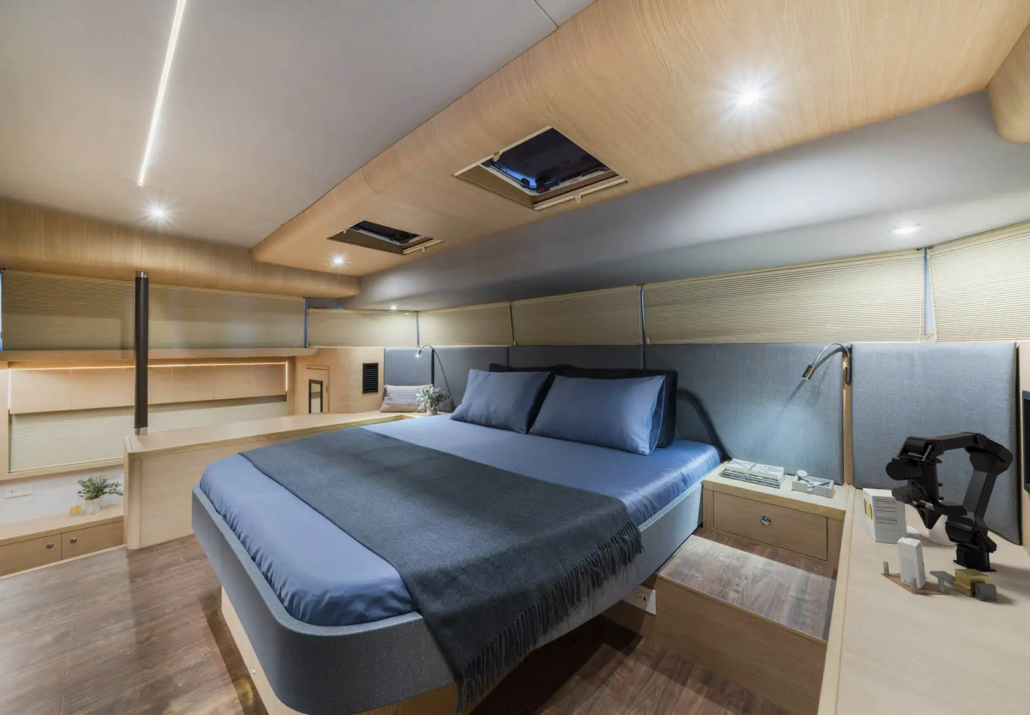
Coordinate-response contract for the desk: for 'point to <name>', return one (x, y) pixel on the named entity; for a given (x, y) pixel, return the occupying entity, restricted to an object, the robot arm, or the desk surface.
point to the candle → (940, 532)
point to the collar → (969, 580)
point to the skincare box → (911, 561)
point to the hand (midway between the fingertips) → (929, 528)
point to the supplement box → (884, 516)
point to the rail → (982, 590)
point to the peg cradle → (926, 589)
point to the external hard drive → (912, 531)
